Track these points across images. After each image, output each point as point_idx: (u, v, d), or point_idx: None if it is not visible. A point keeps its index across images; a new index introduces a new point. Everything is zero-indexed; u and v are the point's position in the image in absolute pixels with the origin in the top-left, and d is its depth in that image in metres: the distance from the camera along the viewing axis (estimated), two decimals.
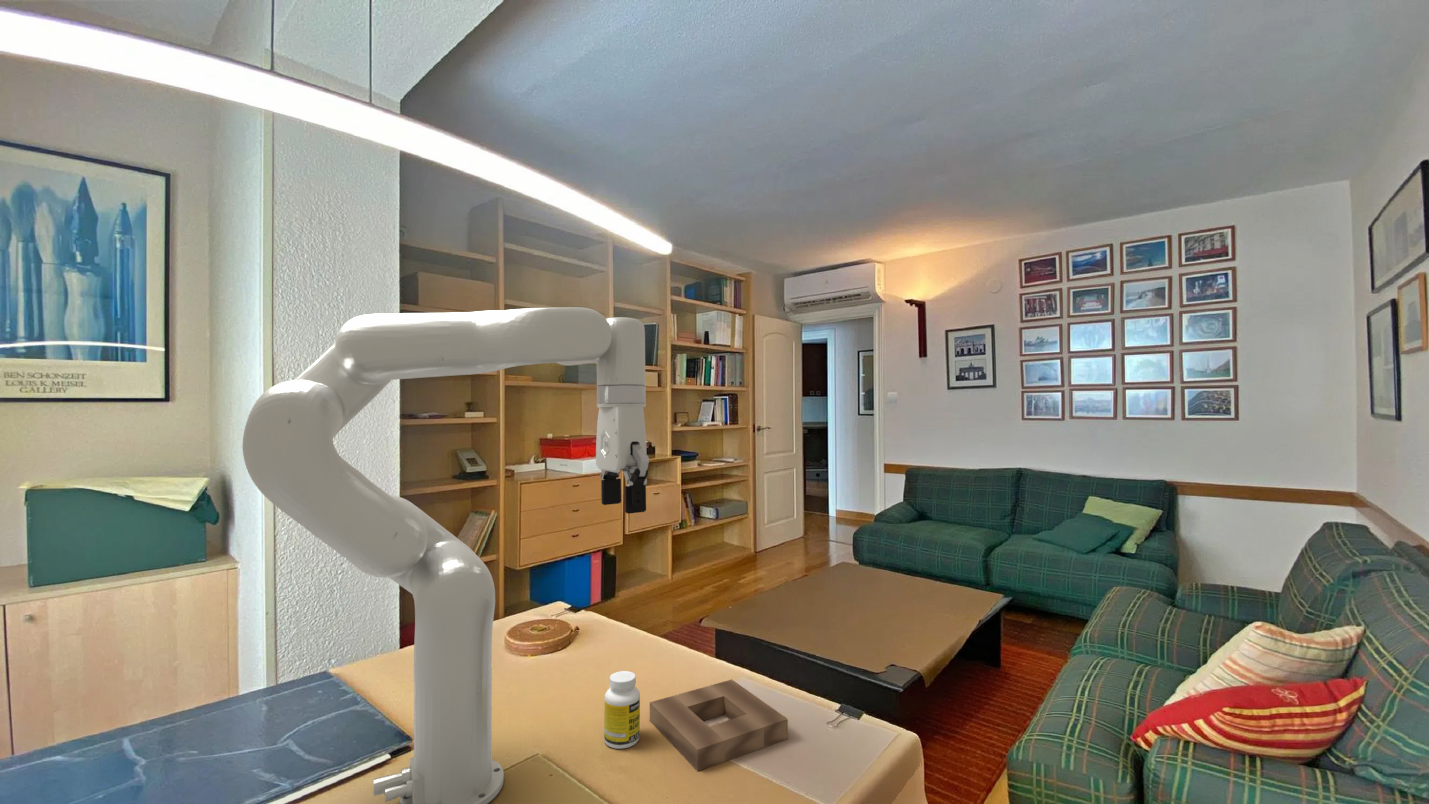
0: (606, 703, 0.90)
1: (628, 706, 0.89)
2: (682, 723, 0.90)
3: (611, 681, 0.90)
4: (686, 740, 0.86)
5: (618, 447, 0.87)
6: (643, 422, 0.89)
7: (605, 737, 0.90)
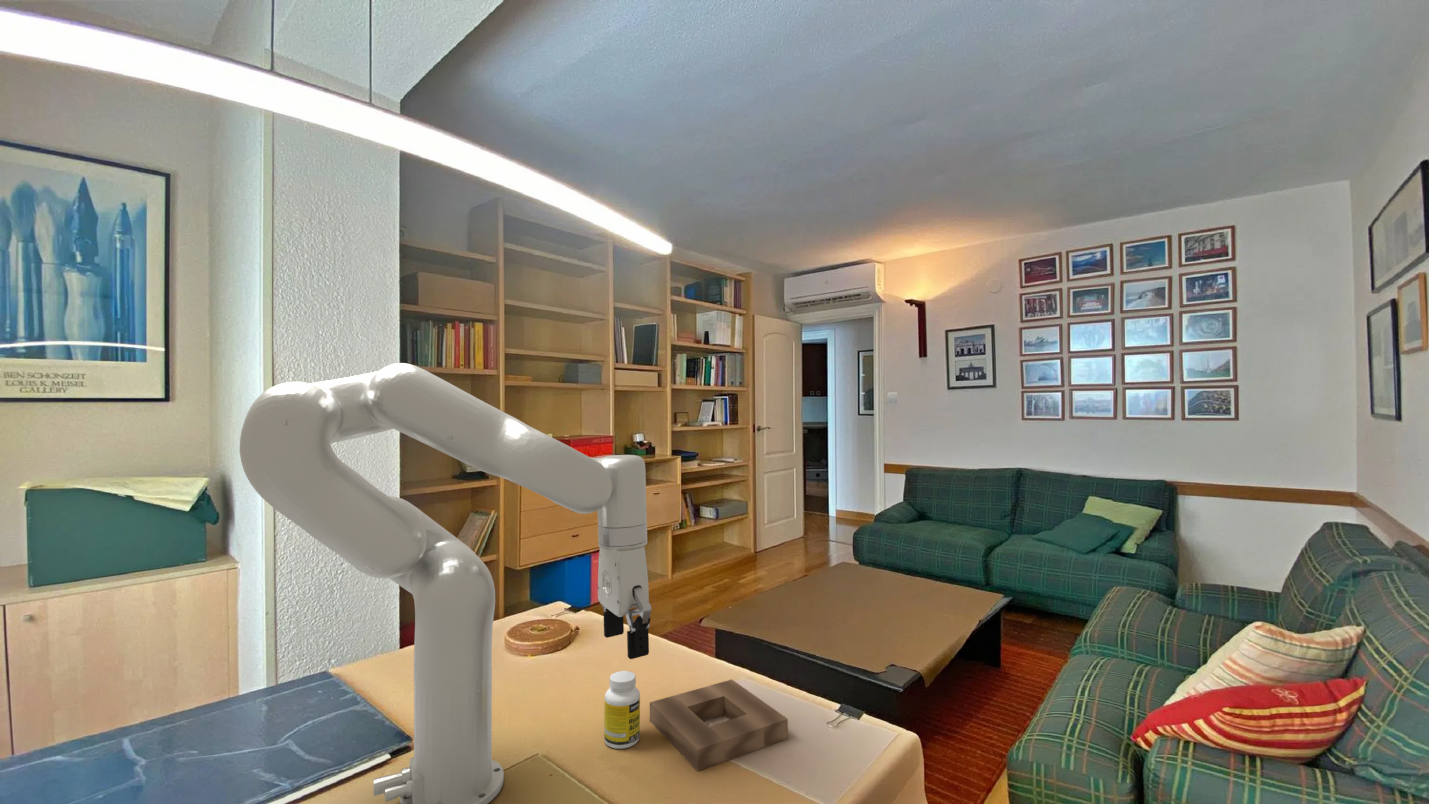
0: (606, 703, 0.90)
1: (628, 706, 0.89)
2: (682, 723, 0.90)
3: (611, 681, 0.90)
4: (686, 740, 0.86)
5: (620, 593, 0.87)
6: (645, 564, 0.89)
7: (605, 737, 0.90)
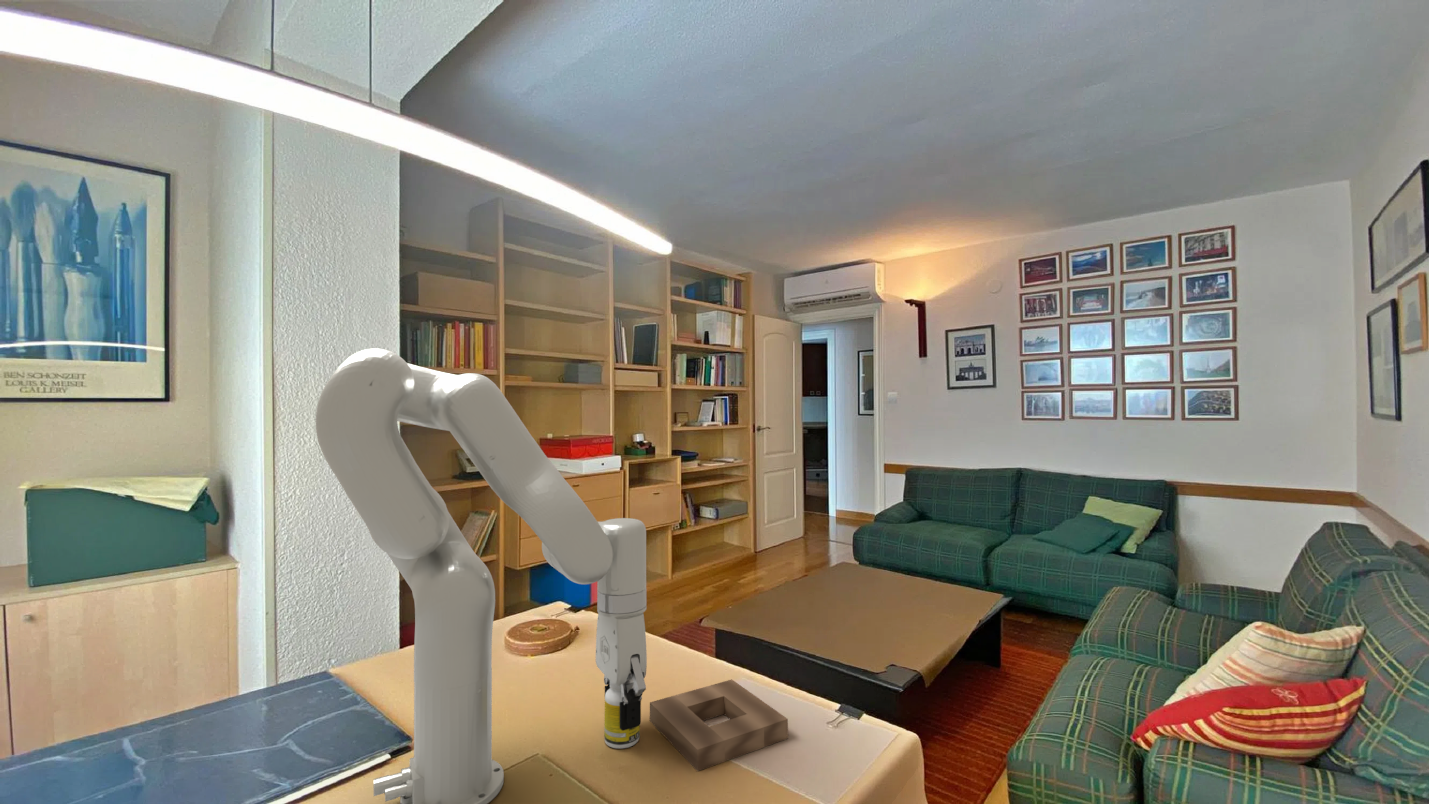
0: (606, 702, 0.90)
1: None
2: (682, 723, 0.90)
3: None
4: (686, 740, 0.86)
5: (618, 662, 0.86)
6: (643, 631, 0.89)
7: (605, 737, 0.90)
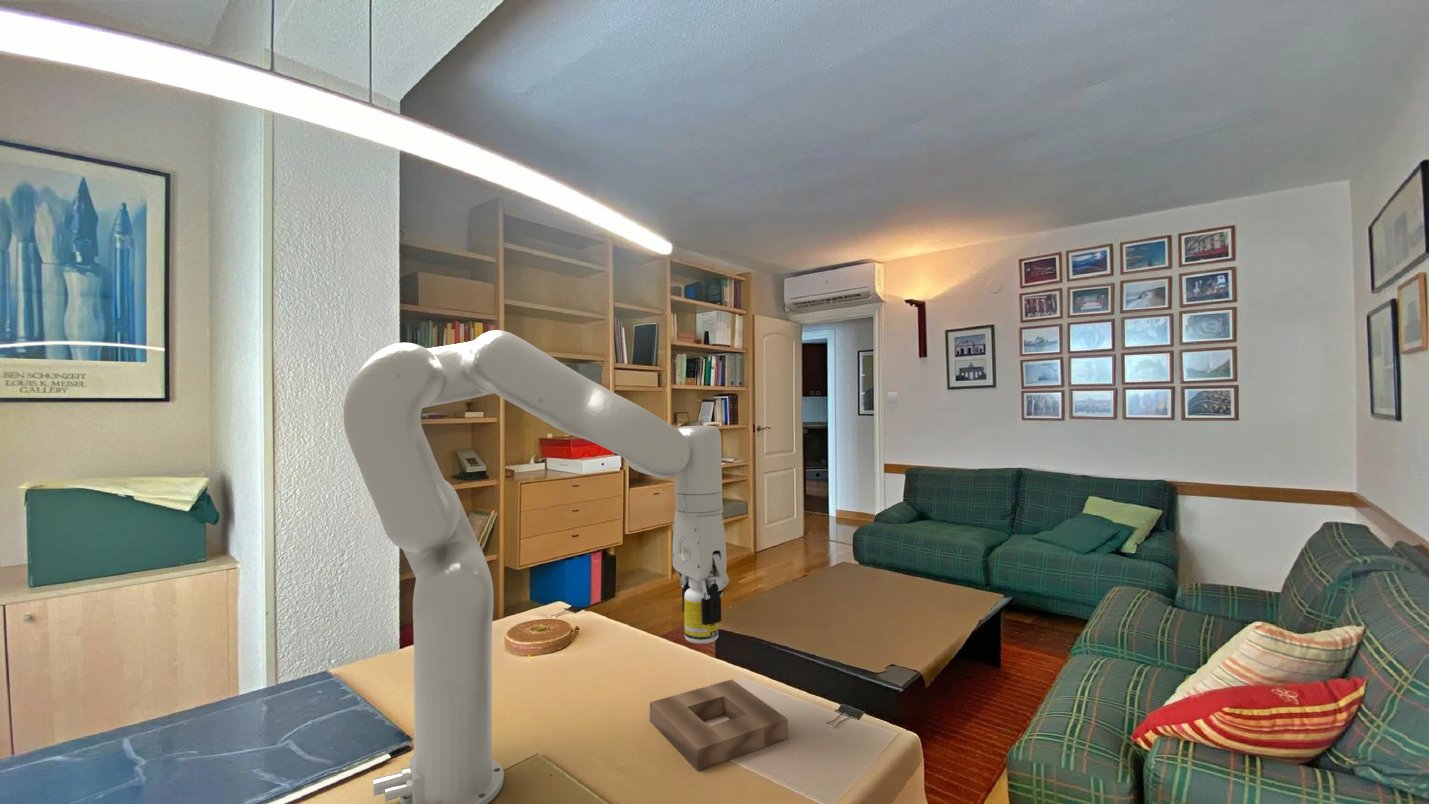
0: (687, 600, 0.93)
1: None
2: (682, 723, 0.90)
3: (691, 580, 0.93)
4: (686, 740, 0.86)
5: (701, 557, 0.89)
6: (723, 530, 0.92)
7: (686, 634, 0.93)
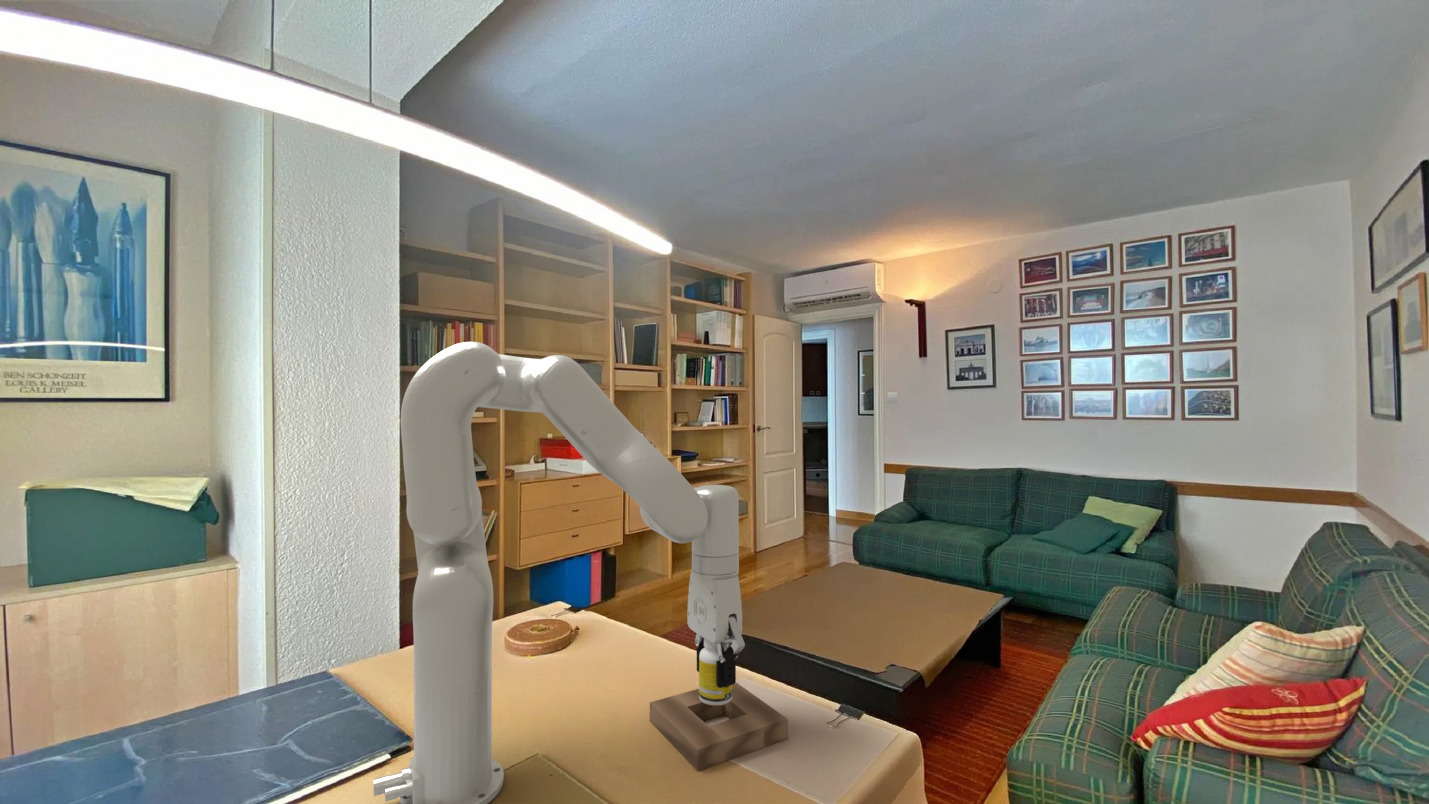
0: (702, 661, 0.93)
1: None
2: (682, 723, 0.90)
3: (706, 641, 0.93)
4: (686, 740, 0.86)
5: (717, 621, 0.89)
6: (739, 592, 0.92)
7: (701, 695, 0.93)
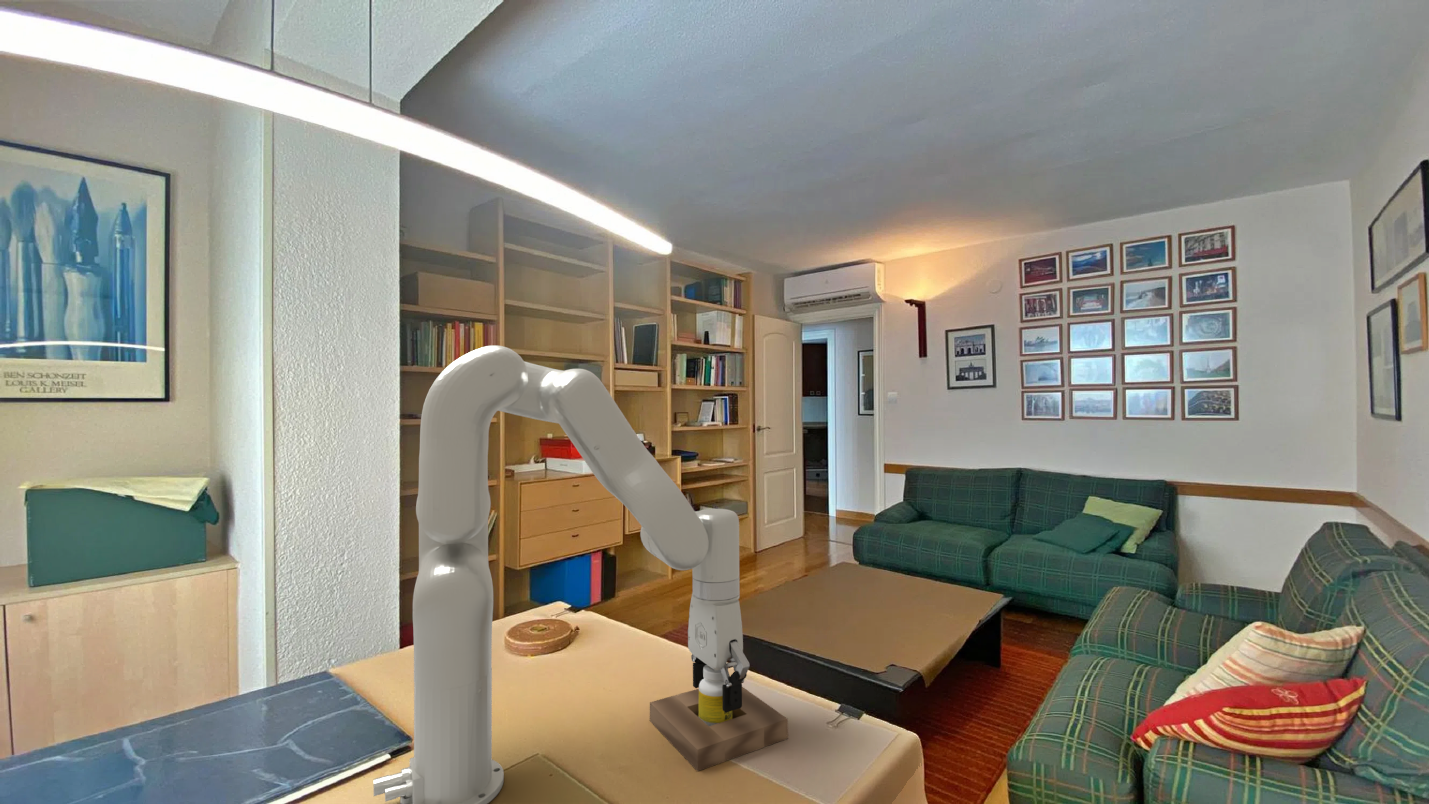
0: (702, 693, 0.93)
1: None
2: (682, 723, 0.90)
3: (706, 672, 0.93)
4: (686, 740, 0.86)
5: (718, 647, 0.89)
6: (740, 618, 0.92)
7: None
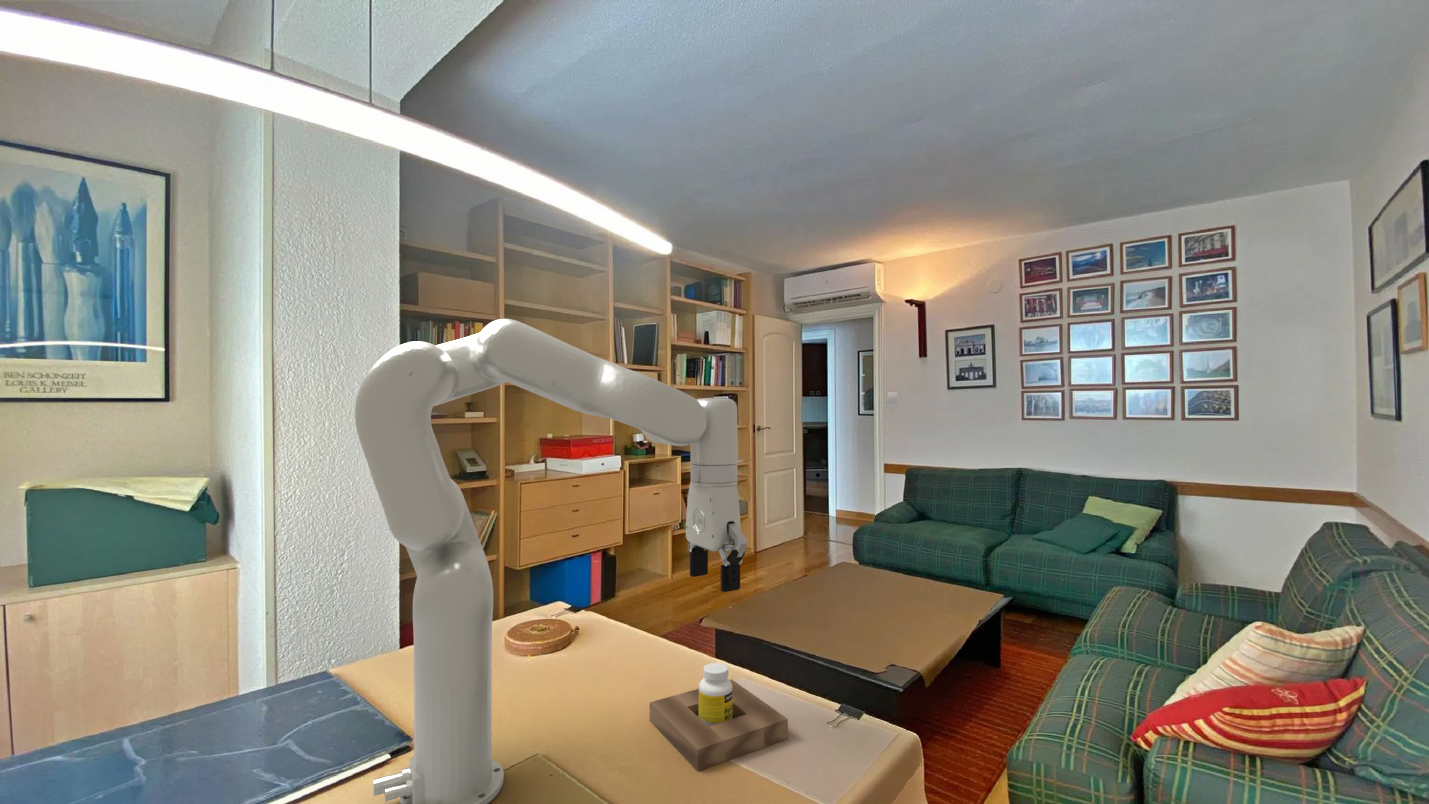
0: (701, 693, 0.93)
1: (724, 696, 0.92)
2: (682, 723, 0.90)
3: (706, 672, 0.93)
4: (686, 740, 0.86)
5: (715, 527, 0.90)
6: (737, 501, 0.92)
7: None
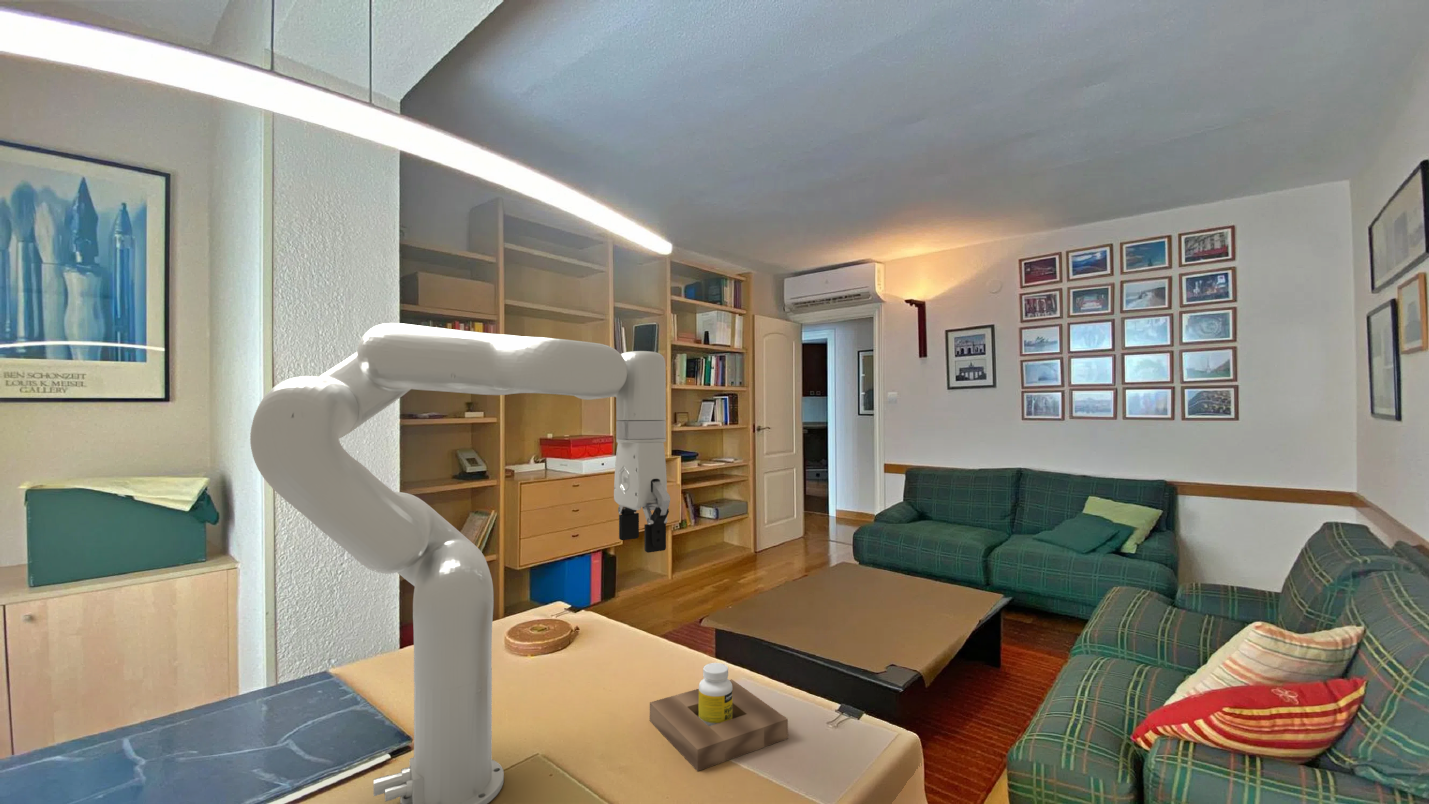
0: (701, 693, 0.93)
1: (724, 696, 0.92)
2: (682, 723, 0.90)
3: (706, 672, 0.93)
4: (686, 740, 0.86)
5: (638, 484, 0.85)
6: (664, 458, 0.88)
7: None
